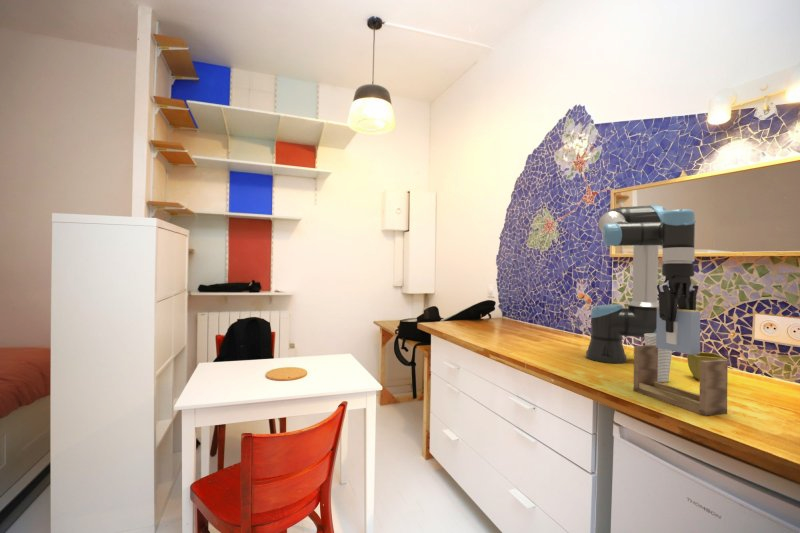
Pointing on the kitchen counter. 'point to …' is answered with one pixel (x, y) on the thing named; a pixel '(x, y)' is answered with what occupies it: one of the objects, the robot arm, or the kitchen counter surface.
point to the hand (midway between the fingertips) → (677, 343)
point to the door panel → (681, 332)
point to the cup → (660, 358)
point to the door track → (704, 404)
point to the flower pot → (696, 358)
